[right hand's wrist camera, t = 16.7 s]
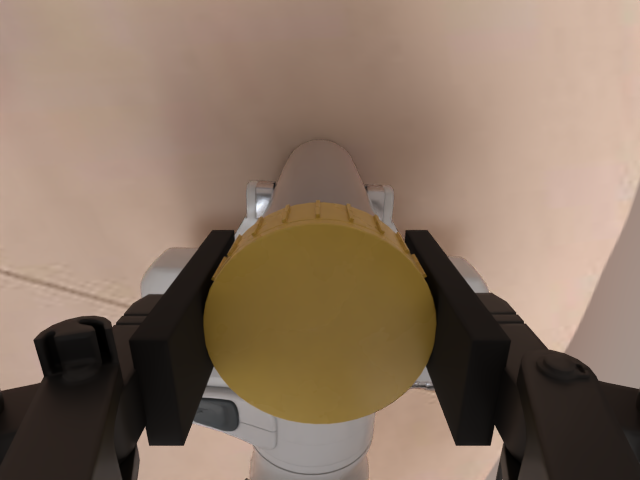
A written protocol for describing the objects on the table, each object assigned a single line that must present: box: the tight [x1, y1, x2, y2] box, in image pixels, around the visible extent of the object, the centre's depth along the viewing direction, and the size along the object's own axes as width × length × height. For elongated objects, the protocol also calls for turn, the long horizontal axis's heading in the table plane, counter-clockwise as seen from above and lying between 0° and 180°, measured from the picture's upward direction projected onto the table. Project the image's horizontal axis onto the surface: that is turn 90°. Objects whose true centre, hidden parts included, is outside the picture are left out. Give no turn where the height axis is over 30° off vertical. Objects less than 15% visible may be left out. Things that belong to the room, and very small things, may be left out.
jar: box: [262, 139, 379, 218], centre depth 20 cm, size 5×5×19 cm
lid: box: [203, 200, 437, 424], centre depth 11 cm, size 6×6×2 cm
